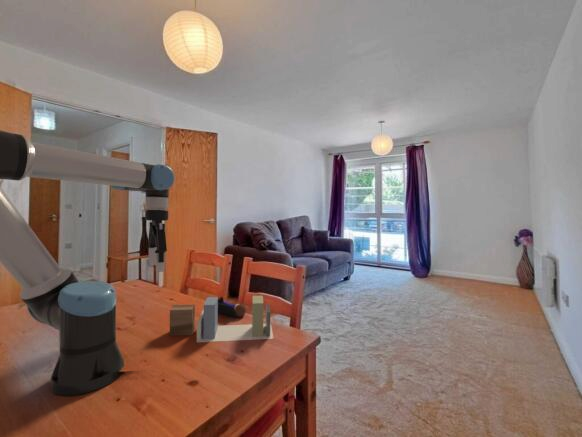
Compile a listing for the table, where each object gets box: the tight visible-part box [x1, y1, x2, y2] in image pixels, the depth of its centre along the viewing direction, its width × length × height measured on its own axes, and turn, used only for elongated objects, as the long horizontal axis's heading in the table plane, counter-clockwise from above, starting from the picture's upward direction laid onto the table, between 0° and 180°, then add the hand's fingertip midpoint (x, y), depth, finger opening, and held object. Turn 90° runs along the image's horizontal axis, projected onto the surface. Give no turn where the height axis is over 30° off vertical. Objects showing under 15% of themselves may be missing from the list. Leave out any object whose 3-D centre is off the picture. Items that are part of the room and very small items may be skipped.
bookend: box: [265, 302, 271, 336], centre depth 98 cm, size 9×1×8 cm, turn 8°
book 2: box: [203, 296, 219, 339], centre depth 95 cm, size 8×4×11 cm, turn 8°
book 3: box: [251, 295, 265, 337], centre depth 97 cm, size 8×4×11 cm, turn 8°
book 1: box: [169, 304, 196, 337], centre depth 96 cm, size 4×7×10 cm, turn 98°
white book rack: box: [196, 309, 275, 343], centre depth 96 cm, size 12×24×8 cm, turn 98°
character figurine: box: [218, 296, 247, 319], centre depth 113 cm, size 8×7×15 cm
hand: (156, 268), depth 103 cm, fingers open, 13 cm apart
